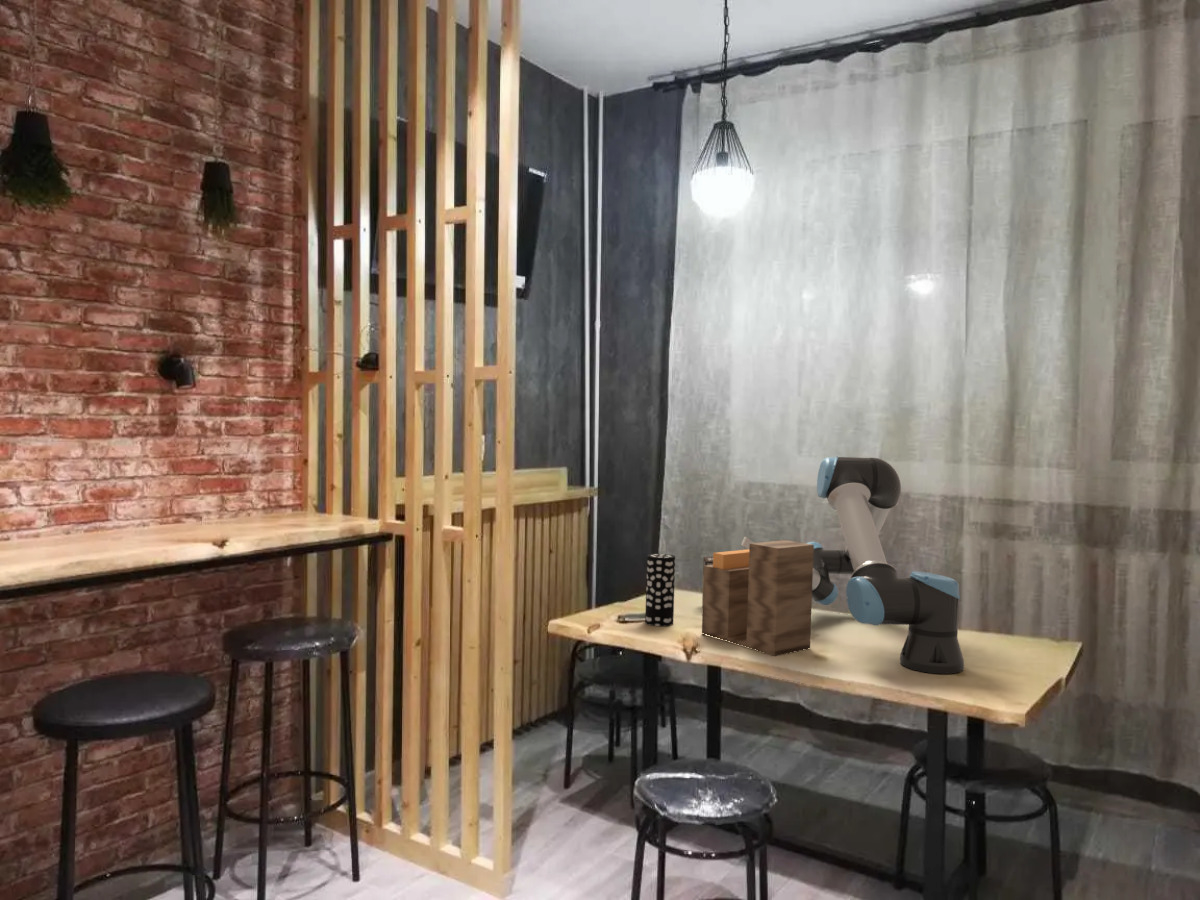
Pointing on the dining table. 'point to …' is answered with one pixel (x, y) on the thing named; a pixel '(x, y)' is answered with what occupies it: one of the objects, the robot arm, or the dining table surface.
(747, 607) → the stepped wooden block
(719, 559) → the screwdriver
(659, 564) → the white-spotted black cylinder
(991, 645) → the dining table surface
